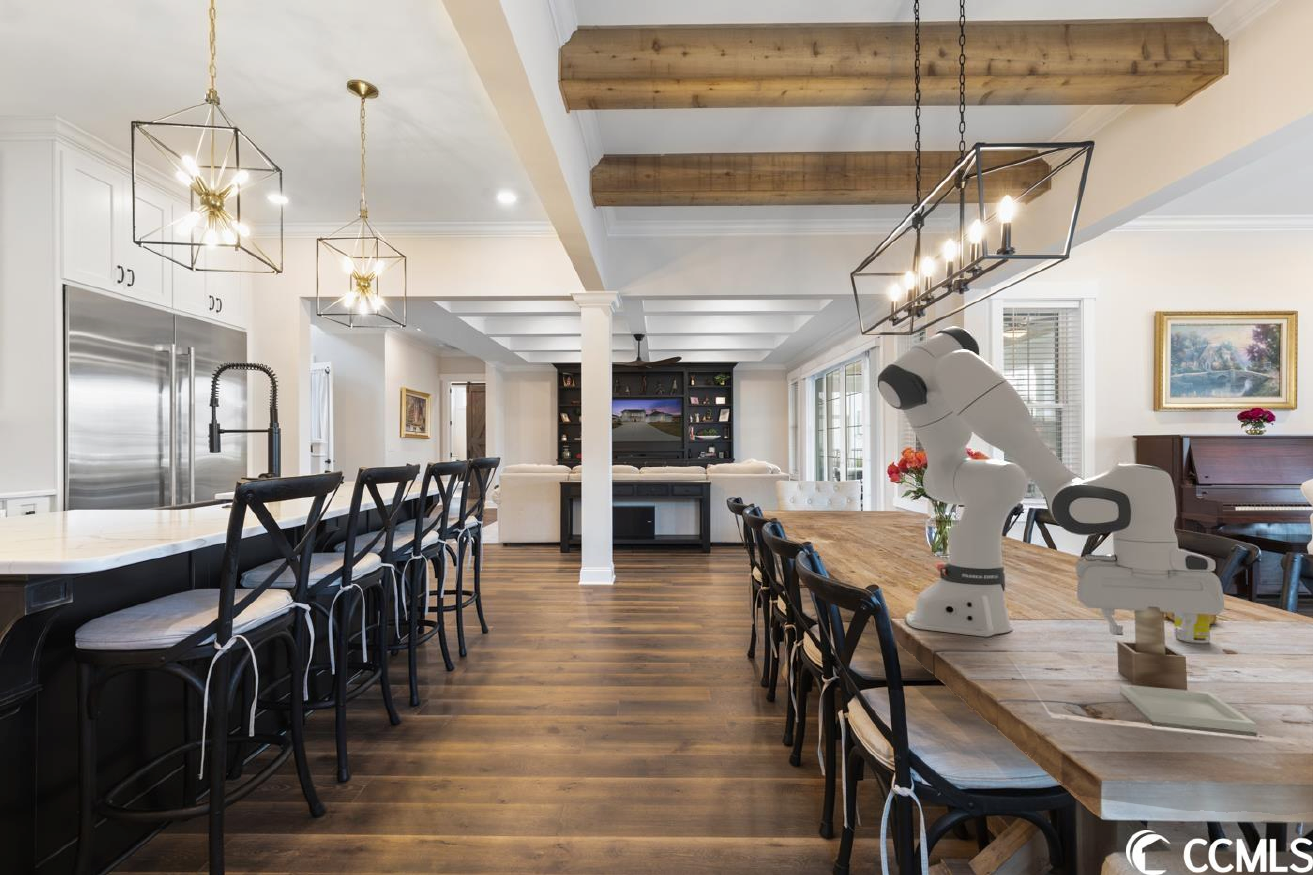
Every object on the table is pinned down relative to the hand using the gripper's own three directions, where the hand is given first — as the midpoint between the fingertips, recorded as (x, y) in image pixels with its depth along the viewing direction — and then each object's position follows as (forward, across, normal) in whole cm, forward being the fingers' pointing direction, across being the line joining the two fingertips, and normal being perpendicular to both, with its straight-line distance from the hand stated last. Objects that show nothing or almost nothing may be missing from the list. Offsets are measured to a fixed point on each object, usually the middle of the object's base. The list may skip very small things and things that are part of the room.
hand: (1148, 636), depth 106 cm
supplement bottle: (+8, +19, +32) cm, 38 cm away
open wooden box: (+8, 0, 0) cm, 8 cm away
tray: (+8, -1, -14) cm, 16 cm away
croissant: (+8, +26, +52) cm, 59 cm away
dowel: (+8, 0, 0) cm, 8 cm away
